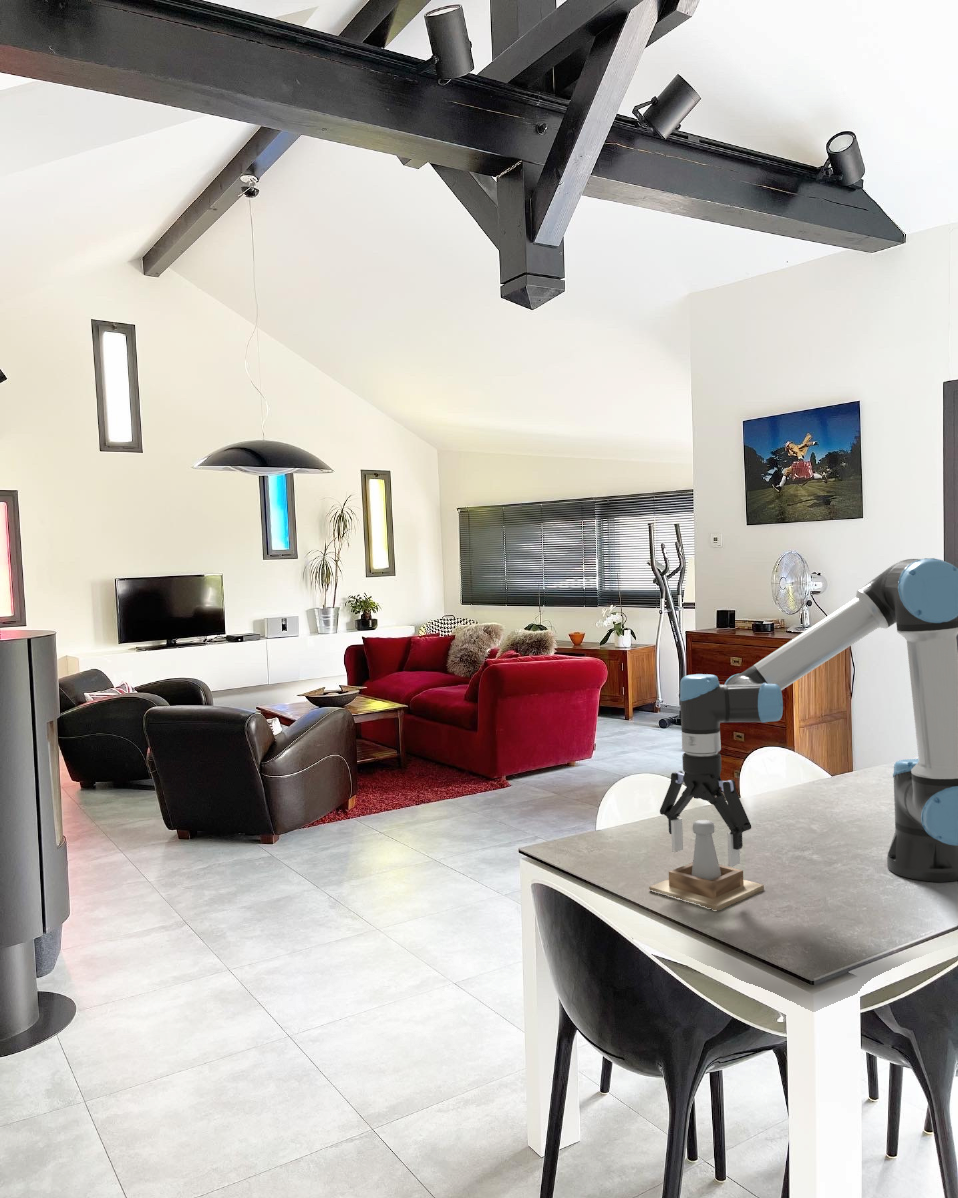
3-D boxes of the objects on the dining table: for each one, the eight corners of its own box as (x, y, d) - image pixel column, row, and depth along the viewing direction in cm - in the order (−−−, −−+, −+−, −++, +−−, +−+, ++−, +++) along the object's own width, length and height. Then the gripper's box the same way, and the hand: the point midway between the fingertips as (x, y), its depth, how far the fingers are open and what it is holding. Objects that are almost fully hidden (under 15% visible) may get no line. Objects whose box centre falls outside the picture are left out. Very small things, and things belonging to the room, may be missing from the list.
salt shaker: (700, 879, 190) (696, 816, 190) (726, 883, 186) (723, 819, 186) (687, 887, 186) (683, 822, 186) (713, 892, 182) (709, 826, 182)
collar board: (763, 889, 185) (763, 870, 185) (716, 911, 175) (715, 890, 175) (697, 872, 197) (696, 853, 197) (649, 891, 187) (648, 872, 187)
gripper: (640, 747, 192) (644, 849, 193) (744, 763, 173) (748, 876, 174) (663, 742, 197) (667, 841, 198) (767, 757, 178) (770, 866, 179)
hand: (705, 857), depth 186 cm, fingers open, 13 cm apart
